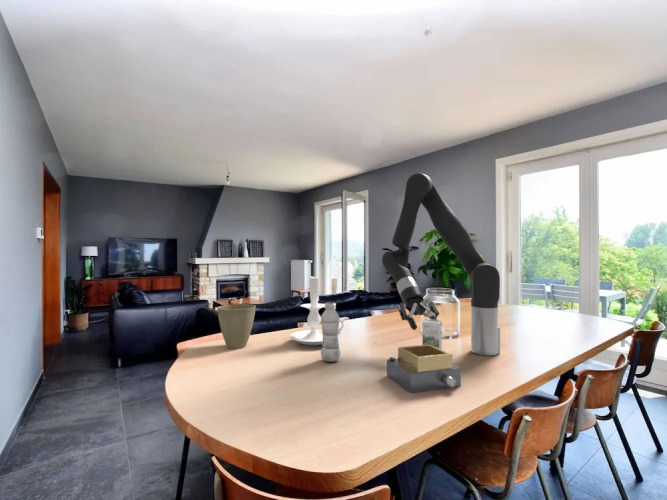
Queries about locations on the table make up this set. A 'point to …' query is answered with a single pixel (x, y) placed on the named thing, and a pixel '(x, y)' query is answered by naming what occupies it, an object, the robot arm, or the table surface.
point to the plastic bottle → (330, 333)
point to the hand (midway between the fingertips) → (426, 328)
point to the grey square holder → (423, 369)
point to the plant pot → (236, 324)
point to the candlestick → (312, 318)
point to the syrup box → (432, 333)
